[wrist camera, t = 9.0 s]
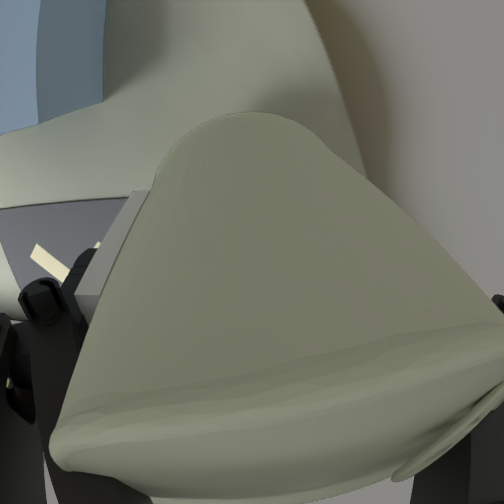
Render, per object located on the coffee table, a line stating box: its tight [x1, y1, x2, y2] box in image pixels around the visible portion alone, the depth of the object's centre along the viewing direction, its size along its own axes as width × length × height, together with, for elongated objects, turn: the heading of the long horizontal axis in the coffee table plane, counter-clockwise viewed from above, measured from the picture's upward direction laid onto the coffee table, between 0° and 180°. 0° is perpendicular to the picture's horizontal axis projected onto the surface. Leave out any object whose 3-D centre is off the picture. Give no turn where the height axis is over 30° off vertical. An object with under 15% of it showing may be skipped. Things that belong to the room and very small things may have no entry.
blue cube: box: [0, 0, 107, 135], centre depth 9 cm, size 8×8×8 cm
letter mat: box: [0, 198, 128, 291], centre depth 23 cm, size 16×16×1 cm
